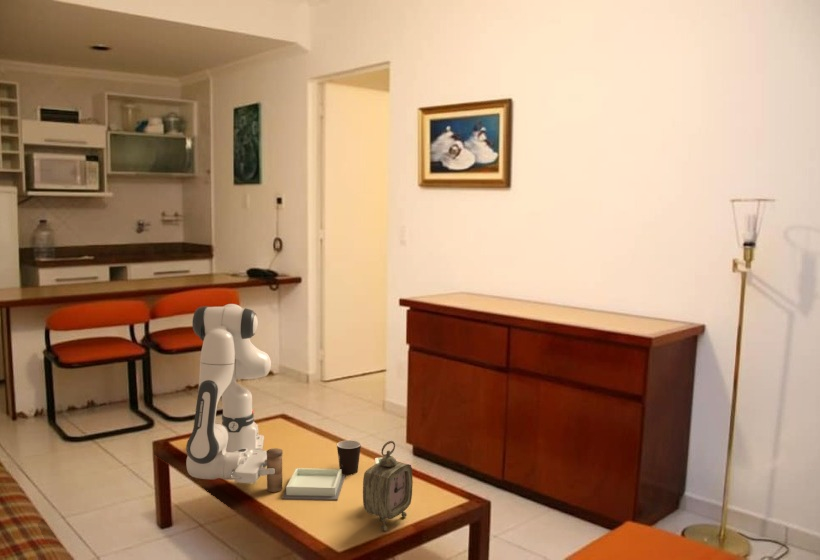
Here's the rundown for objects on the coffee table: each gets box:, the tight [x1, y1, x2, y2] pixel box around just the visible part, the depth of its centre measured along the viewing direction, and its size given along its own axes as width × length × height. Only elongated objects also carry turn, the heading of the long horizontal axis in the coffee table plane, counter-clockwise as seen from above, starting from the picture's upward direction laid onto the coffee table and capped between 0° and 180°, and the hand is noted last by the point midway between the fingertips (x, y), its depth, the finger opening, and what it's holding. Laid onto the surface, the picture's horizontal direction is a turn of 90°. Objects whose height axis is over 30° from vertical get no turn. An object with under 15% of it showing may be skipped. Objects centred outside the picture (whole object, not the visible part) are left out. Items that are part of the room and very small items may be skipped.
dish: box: [285, 467, 343, 496], centre depth 228 cm, size 16×16×3 cm
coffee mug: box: [336, 439, 362, 476], centre depth 243 cm, size 12×9×10 cm
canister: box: [266, 447, 283, 493], centre depth 225 cm, size 5×5×13 cm
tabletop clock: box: [362, 440, 414, 532], centre depth 202 cm, size 14×9×25 cm, turn 148°
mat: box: [281, 474, 346, 501], centre depth 228 cm, size 20×18×1 cm
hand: (277, 467), depth 225 cm, fingers closed on canister, 5 cm apart
